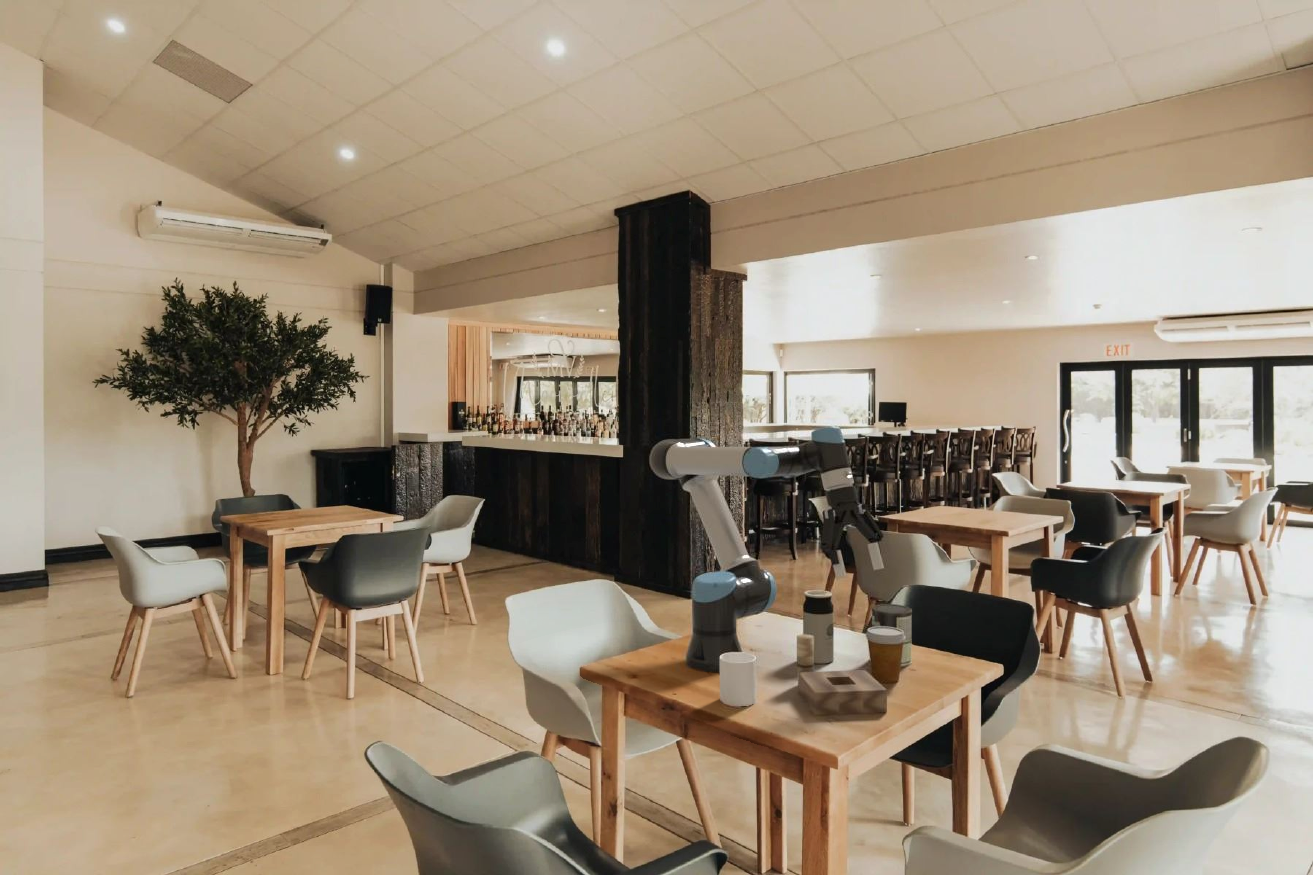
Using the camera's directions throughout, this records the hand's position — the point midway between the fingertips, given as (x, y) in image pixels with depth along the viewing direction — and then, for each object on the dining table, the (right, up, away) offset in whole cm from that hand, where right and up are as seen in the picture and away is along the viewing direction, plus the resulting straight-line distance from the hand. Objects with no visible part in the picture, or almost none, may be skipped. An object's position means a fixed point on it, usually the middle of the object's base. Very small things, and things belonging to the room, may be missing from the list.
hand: (860, 573), depth 193 cm
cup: (-30, -28, -9) cm, 42 cm away
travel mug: (-6, -27, +20) cm, 34 cm away
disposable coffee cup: (+7, -27, +4) cm, 28 cm away
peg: (-14, -27, -1) cm, 30 cm away
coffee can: (+13, -27, +18) cm, 35 cm away
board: (-8, -27, -12) cm, 31 cm away
